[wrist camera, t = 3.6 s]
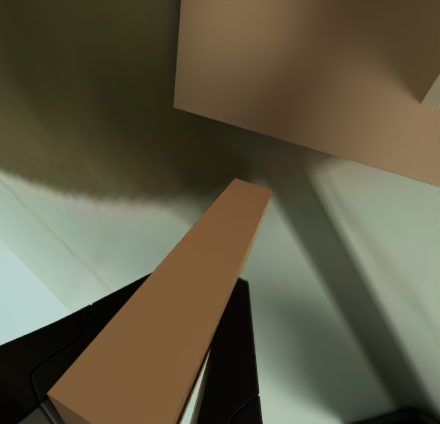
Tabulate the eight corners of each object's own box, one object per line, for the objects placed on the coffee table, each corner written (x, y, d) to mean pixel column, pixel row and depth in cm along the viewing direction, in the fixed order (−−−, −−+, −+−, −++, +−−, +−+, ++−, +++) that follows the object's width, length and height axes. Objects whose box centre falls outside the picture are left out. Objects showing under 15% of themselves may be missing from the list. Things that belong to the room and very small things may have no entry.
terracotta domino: (272, 190, 9) (153, 463, 3) (241, 274, 12) (146, 507, 5) (235, 178, 9) (46, 393, 3) (213, 261, 12) (92, 468, 6)
